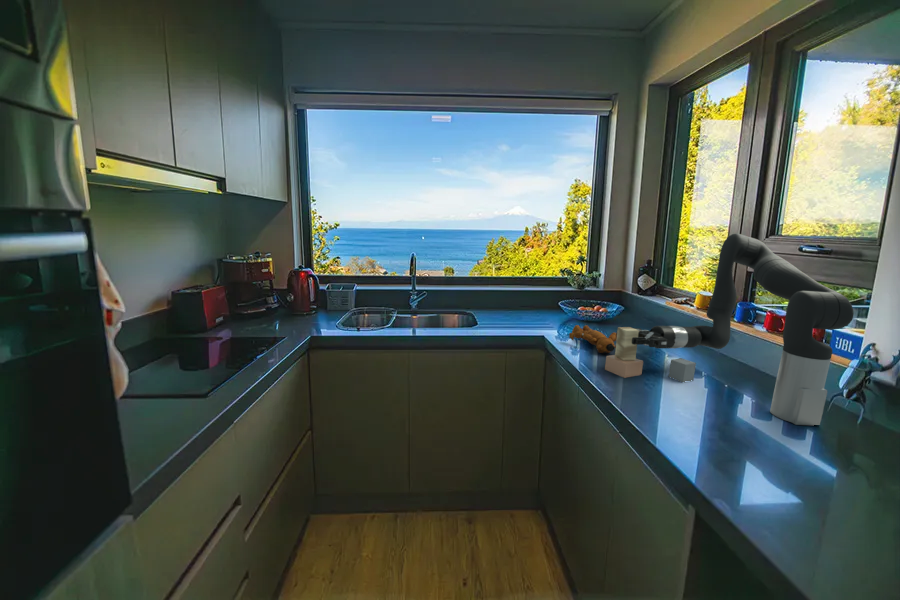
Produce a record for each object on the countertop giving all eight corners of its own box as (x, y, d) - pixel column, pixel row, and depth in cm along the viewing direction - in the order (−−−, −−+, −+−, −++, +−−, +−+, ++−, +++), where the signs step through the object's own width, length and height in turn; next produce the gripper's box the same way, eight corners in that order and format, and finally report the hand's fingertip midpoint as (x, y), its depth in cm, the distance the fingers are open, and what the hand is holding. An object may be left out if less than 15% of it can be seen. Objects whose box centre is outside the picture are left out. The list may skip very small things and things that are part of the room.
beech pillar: (635, 360, 129) (638, 330, 128) (623, 360, 128) (626, 330, 127) (626, 355, 134) (630, 327, 132) (614, 356, 133) (617, 327, 131)
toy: (557, 337, 176) (584, 356, 146) (559, 322, 175) (586, 338, 145) (601, 339, 177) (636, 358, 148) (602, 324, 176) (638, 340, 147)
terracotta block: (641, 375, 130) (643, 360, 129) (624, 378, 127) (626, 363, 126) (621, 367, 137) (622, 353, 136) (604, 370, 134) (606, 356, 133)
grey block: (693, 380, 127) (696, 363, 126) (682, 382, 125) (685, 364, 124) (678, 375, 131) (681, 358, 130) (668, 377, 129) (671, 359, 128)
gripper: (655, 321, 138) (613, 320, 136) (686, 331, 125) (639, 331, 122) (652, 341, 140) (610, 342, 137) (682, 354, 126) (636, 355, 123)
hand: (624, 337), depth 129 cm, fingers open, 8 cm apart
